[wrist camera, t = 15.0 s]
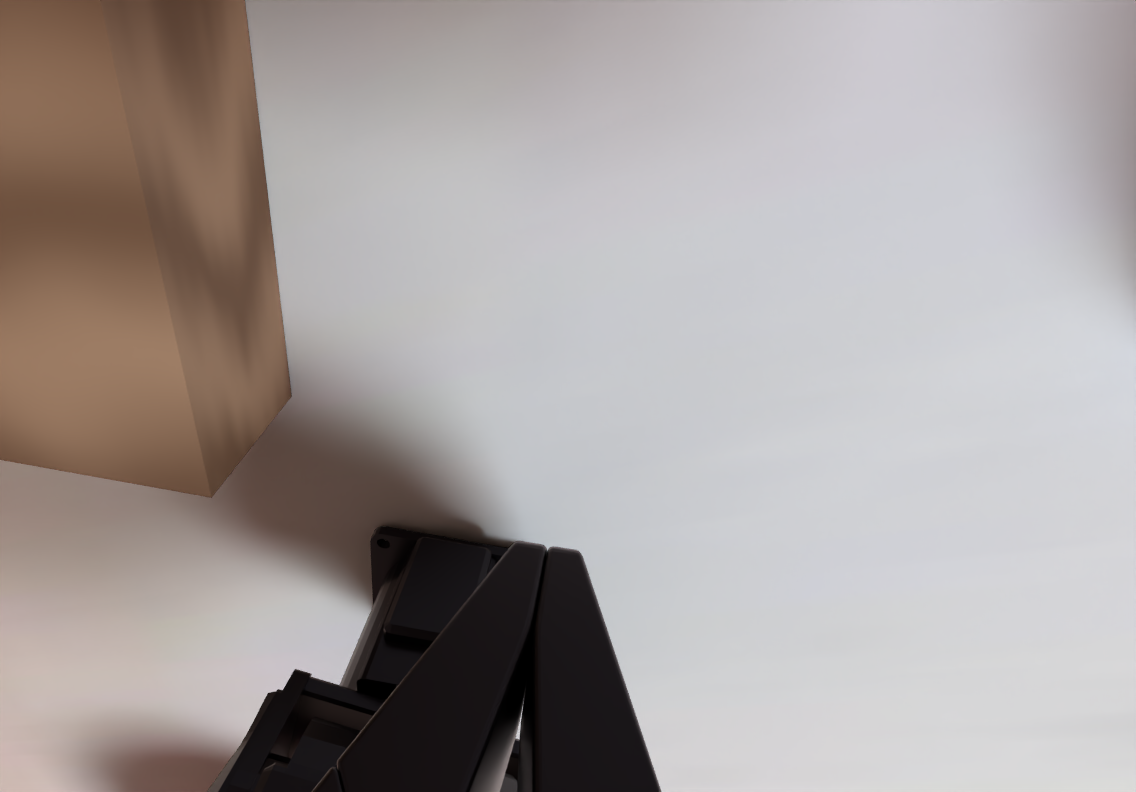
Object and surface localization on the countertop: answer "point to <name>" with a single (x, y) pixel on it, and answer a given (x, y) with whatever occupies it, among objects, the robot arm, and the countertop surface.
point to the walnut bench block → (134, 243)
